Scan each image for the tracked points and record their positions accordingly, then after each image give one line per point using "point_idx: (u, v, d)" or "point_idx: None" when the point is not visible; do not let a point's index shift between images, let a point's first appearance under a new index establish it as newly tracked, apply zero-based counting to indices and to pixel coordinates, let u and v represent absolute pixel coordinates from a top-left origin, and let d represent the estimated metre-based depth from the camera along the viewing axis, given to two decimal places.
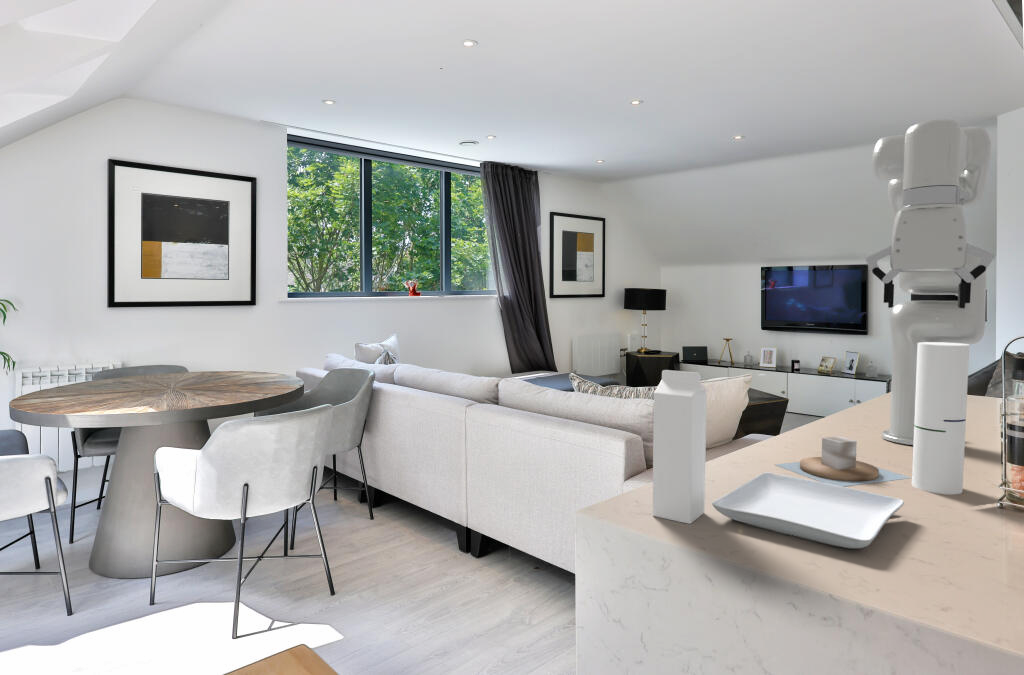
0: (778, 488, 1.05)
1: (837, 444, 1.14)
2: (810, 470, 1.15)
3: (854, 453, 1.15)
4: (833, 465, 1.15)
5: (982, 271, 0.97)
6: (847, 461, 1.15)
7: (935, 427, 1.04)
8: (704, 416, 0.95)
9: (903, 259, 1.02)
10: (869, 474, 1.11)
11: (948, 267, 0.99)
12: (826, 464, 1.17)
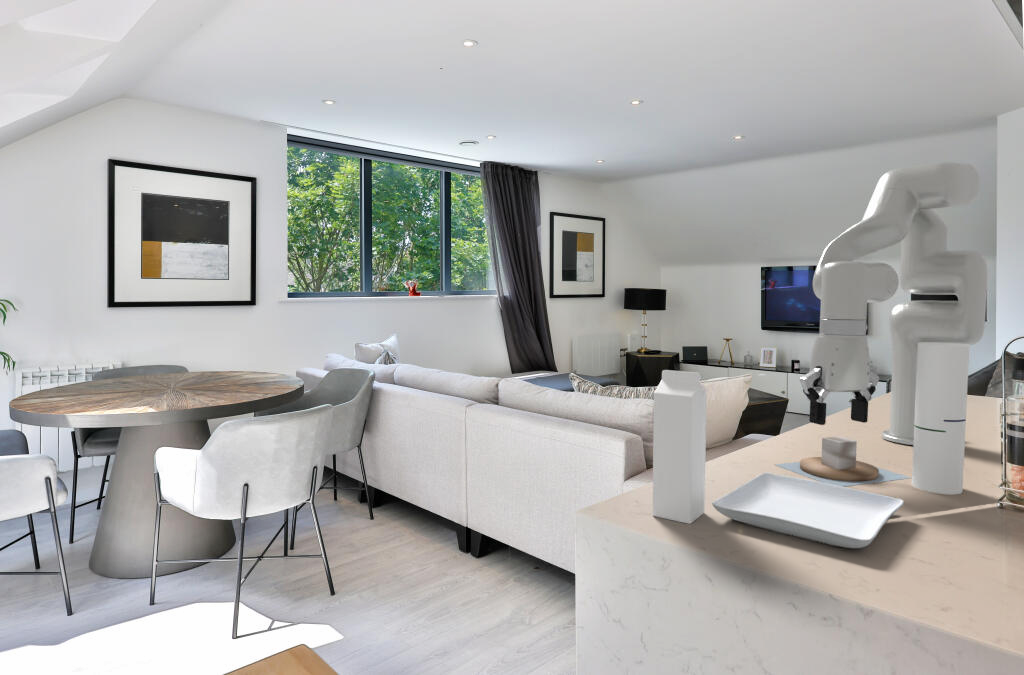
0: (778, 488, 1.05)
1: (837, 444, 1.14)
2: (810, 470, 1.15)
3: (854, 453, 1.15)
4: (833, 465, 1.15)
5: (874, 391, 1.17)
6: (847, 461, 1.15)
7: (935, 427, 1.04)
8: (704, 416, 0.95)
9: (835, 382, 1.12)
10: (869, 474, 1.11)
11: (860, 389, 1.14)
12: (826, 464, 1.17)
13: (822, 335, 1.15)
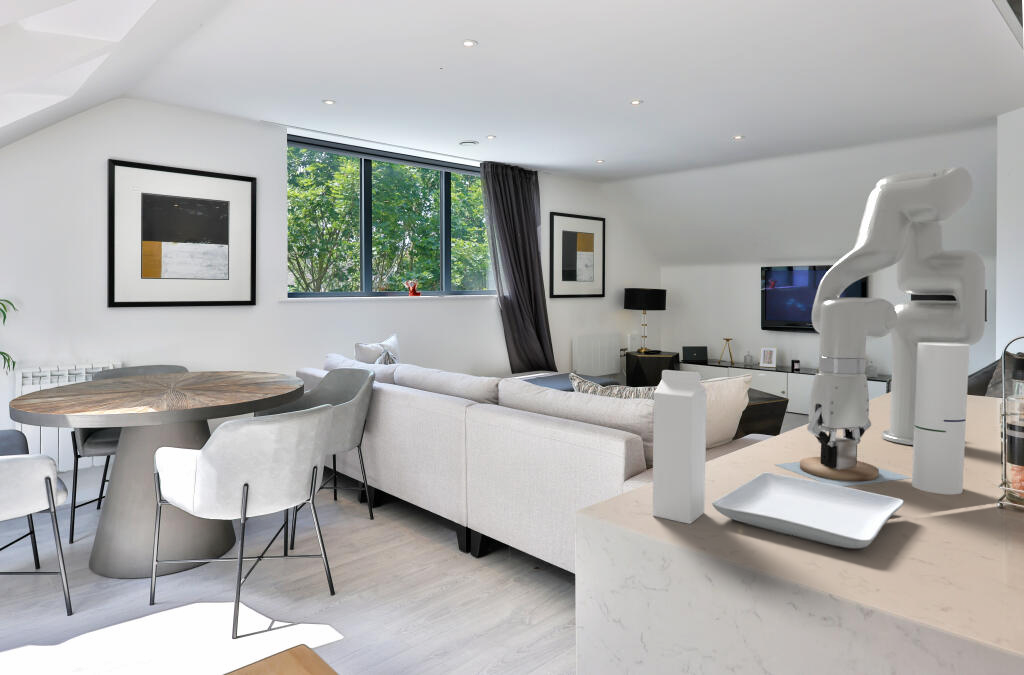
0: (778, 488, 1.05)
1: (837, 444, 1.14)
2: (810, 470, 1.15)
3: (854, 452, 1.15)
4: None
5: (863, 433, 1.17)
6: (847, 461, 1.15)
7: (935, 427, 1.04)
8: (704, 416, 0.95)
9: (835, 420, 1.13)
10: (869, 474, 1.11)
11: (860, 425, 1.15)
12: None
13: (821, 373, 1.15)
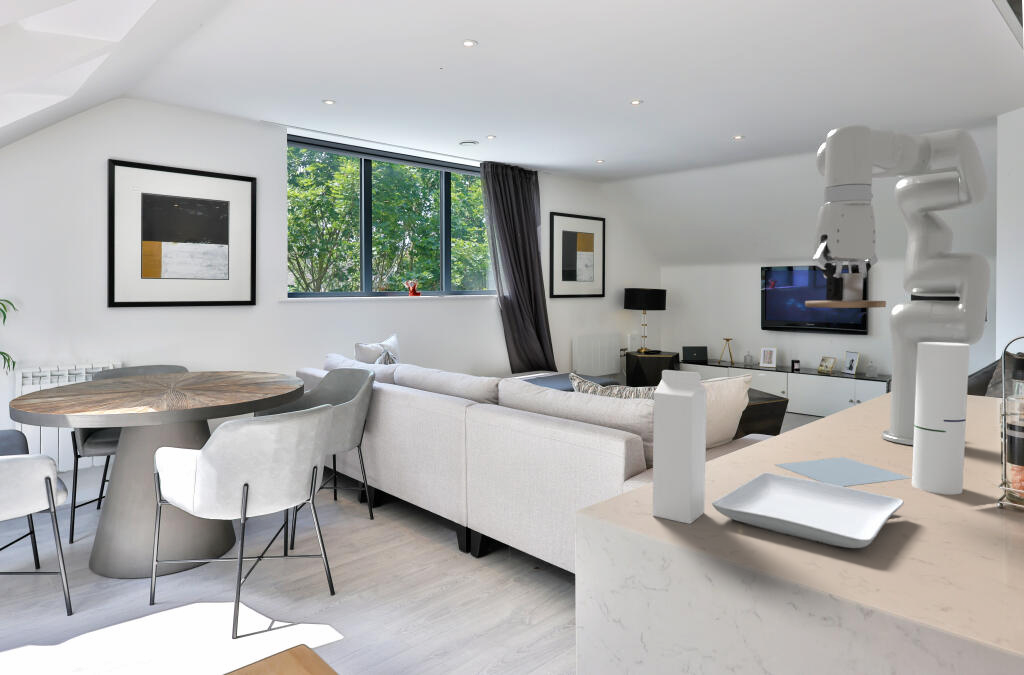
0: (778, 488, 1.05)
1: (843, 275, 1.12)
2: (816, 303, 1.13)
3: (860, 285, 1.13)
4: None
5: (869, 268, 1.15)
6: (853, 293, 1.13)
7: (935, 427, 1.04)
8: (704, 416, 0.95)
9: (841, 249, 1.11)
10: (876, 301, 1.09)
11: (866, 257, 1.13)
12: None
13: (827, 204, 1.13)
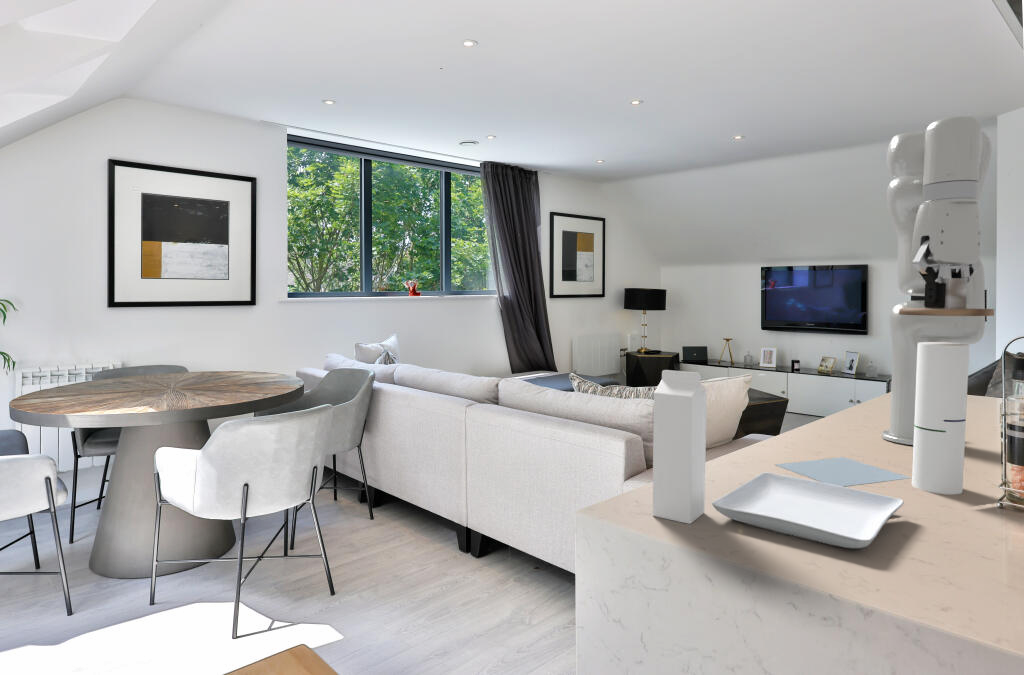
0: (778, 488, 1.05)
1: (946, 280, 1.02)
2: (916, 310, 1.03)
3: (964, 291, 1.03)
4: None
5: (972, 273, 1.05)
6: (957, 300, 1.03)
7: (935, 427, 1.04)
8: (704, 416, 0.95)
9: (945, 251, 1.01)
10: (985, 309, 0.99)
11: (970, 261, 1.03)
12: None
13: (927, 202, 1.03)
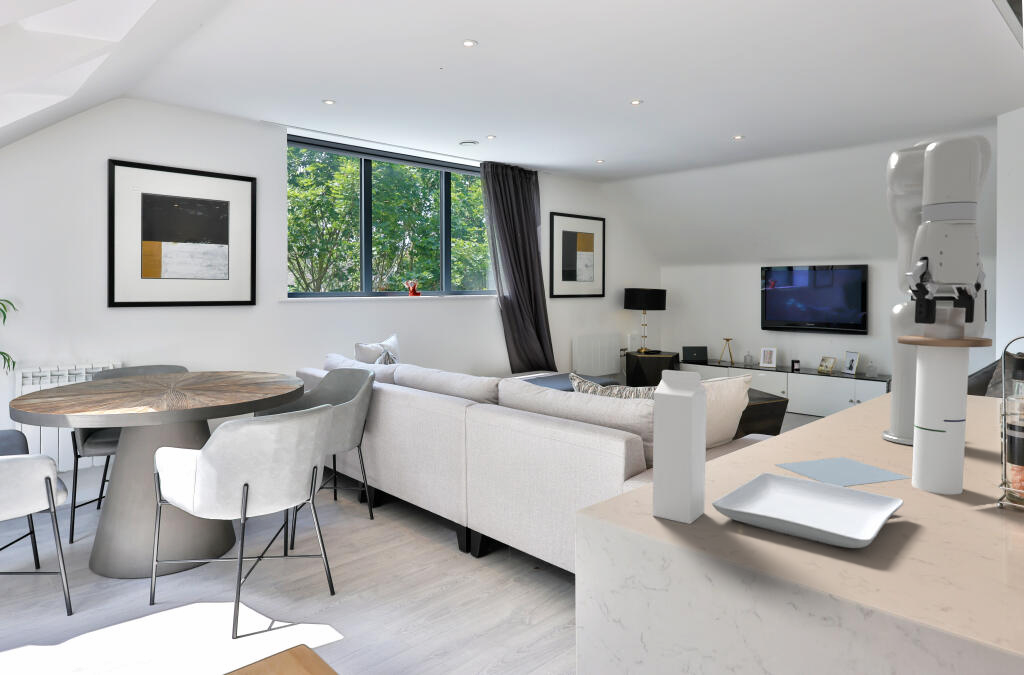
0: (778, 488, 1.05)
1: (944, 310, 1.03)
2: (914, 340, 1.03)
3: (962, 321, 1.03)
4: (939, 335, 1.04)
5: (979, 288, 1.06)
6: (955, 330, 1.03)
7: (935, 427, 1.04)
8: (704, 416, 0.95)
9: (944, 272, 1.01)
10: (983, 340, 1.00)
11: (969, 281, 1.03)
12: (930, 336, 1.05)
13: (926, 223, 1.04)
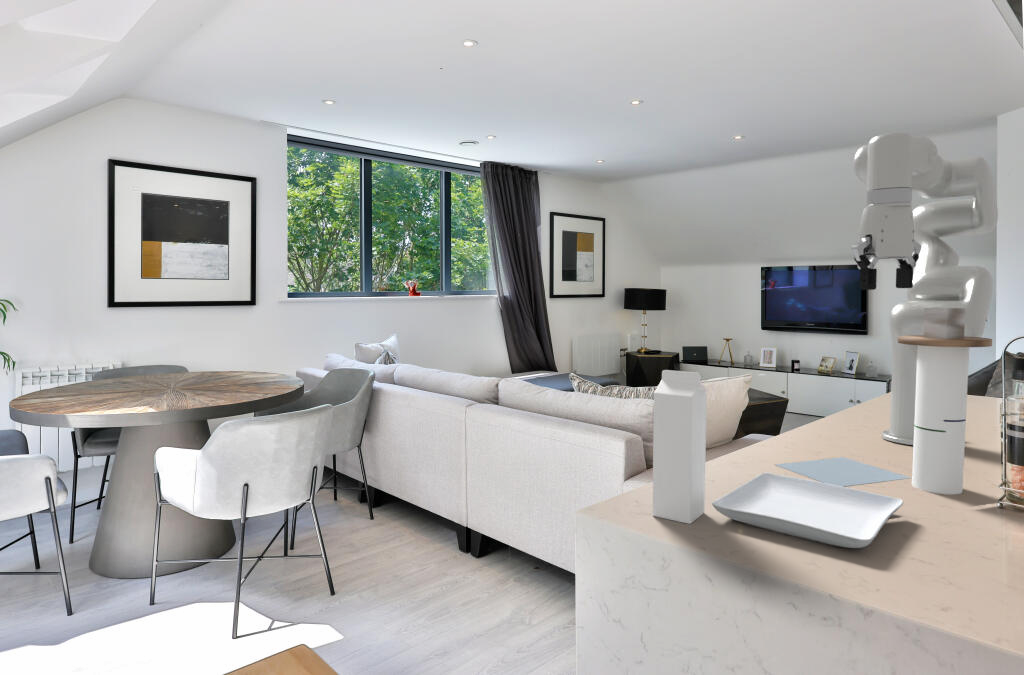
0: (778, 488, 1.05)
1: (944, 310, 1.03)
2: (914, 340, 1.03)
3: (962, 321, 1.03)
4: (939, 335, 1.04)
5: (917, 258, 1.24)
6: (955, 330, 1.03)
7: (935, 427, 1.04)
8: (704, 416, 0.95)
9: (884, 248, 1.19)
10: (983, 340, 1.00)
11: (906, 255, 1.22)
12: (930, 336, 1.05)
13: (870, 206, 1.21)
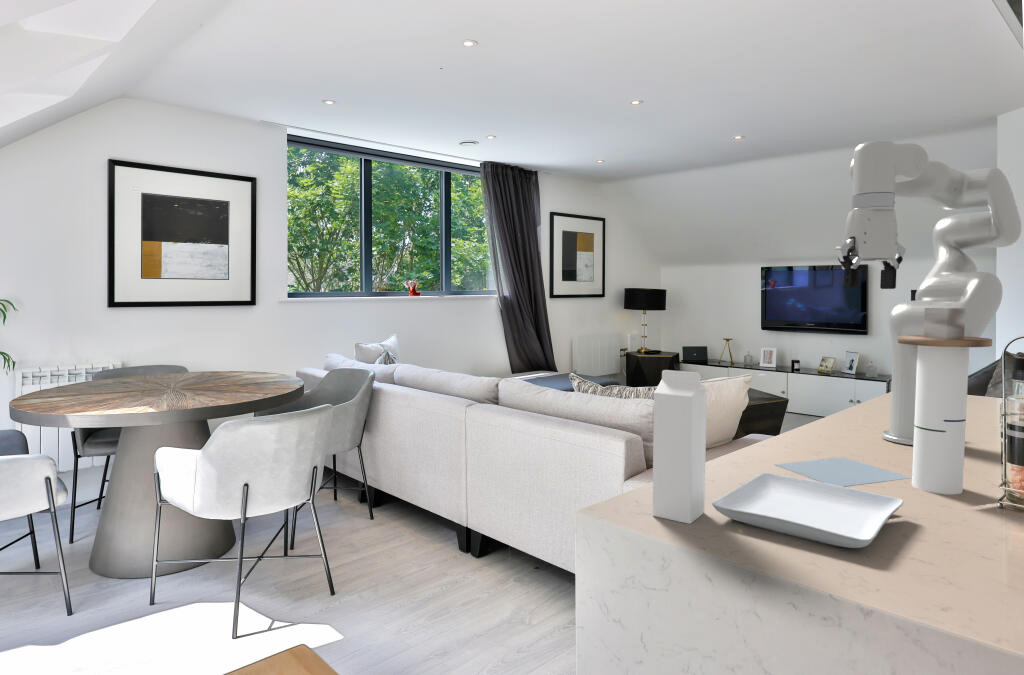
0: (778, 488, 1.05)
1: (944, 310, 1.03)
2: (914, 340, 1.03)
3: (962, 321, 1.03)
4: (939, 335, 1.04)
5: (901, 261, 1.30)
6: (955, 330, 1.03)
7: (935, 427, 1.04)
8: (704, 416, 0.95)
9: (867, 249, 1.26)
10: (983, 340, 1.00)
11: (889, 257, 1.28)
12: (930, 336, 1.05)
13: (854, 210, 1.28)
